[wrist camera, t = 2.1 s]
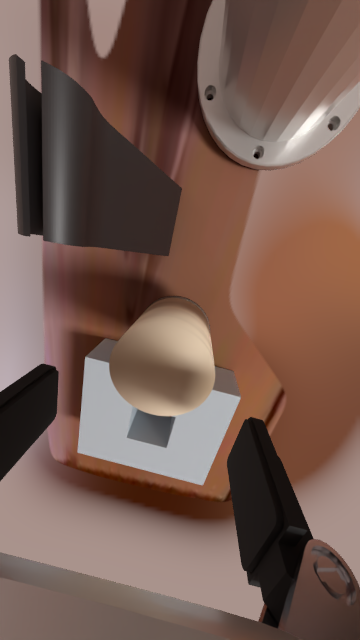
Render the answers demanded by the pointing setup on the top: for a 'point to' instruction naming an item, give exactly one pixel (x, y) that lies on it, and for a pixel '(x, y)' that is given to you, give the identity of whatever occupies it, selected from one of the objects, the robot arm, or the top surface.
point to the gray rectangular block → (152, 424)
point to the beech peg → (165, 358)
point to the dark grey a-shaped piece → (83, 171)
